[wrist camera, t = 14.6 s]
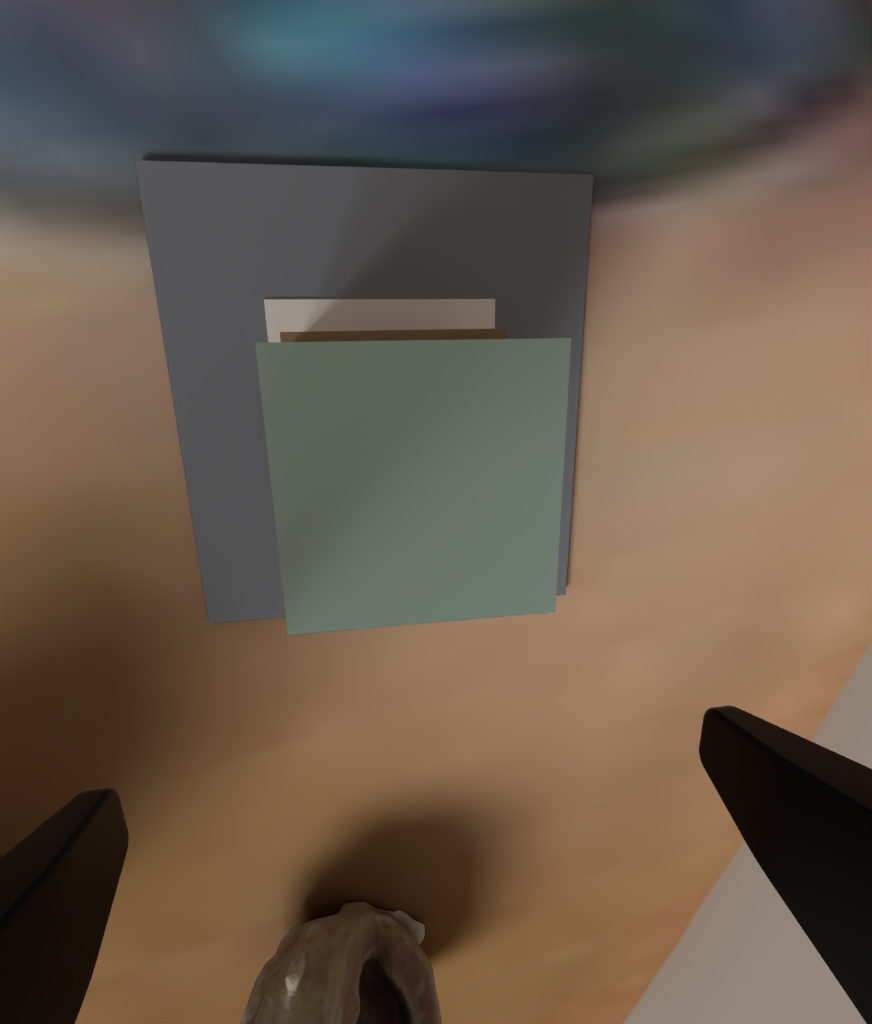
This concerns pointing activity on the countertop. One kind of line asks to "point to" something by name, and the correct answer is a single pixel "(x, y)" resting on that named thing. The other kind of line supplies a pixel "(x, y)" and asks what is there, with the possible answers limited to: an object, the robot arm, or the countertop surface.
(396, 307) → the gray mat
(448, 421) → the sage block
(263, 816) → the countertop surface
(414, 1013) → the grey rough rounded lump
